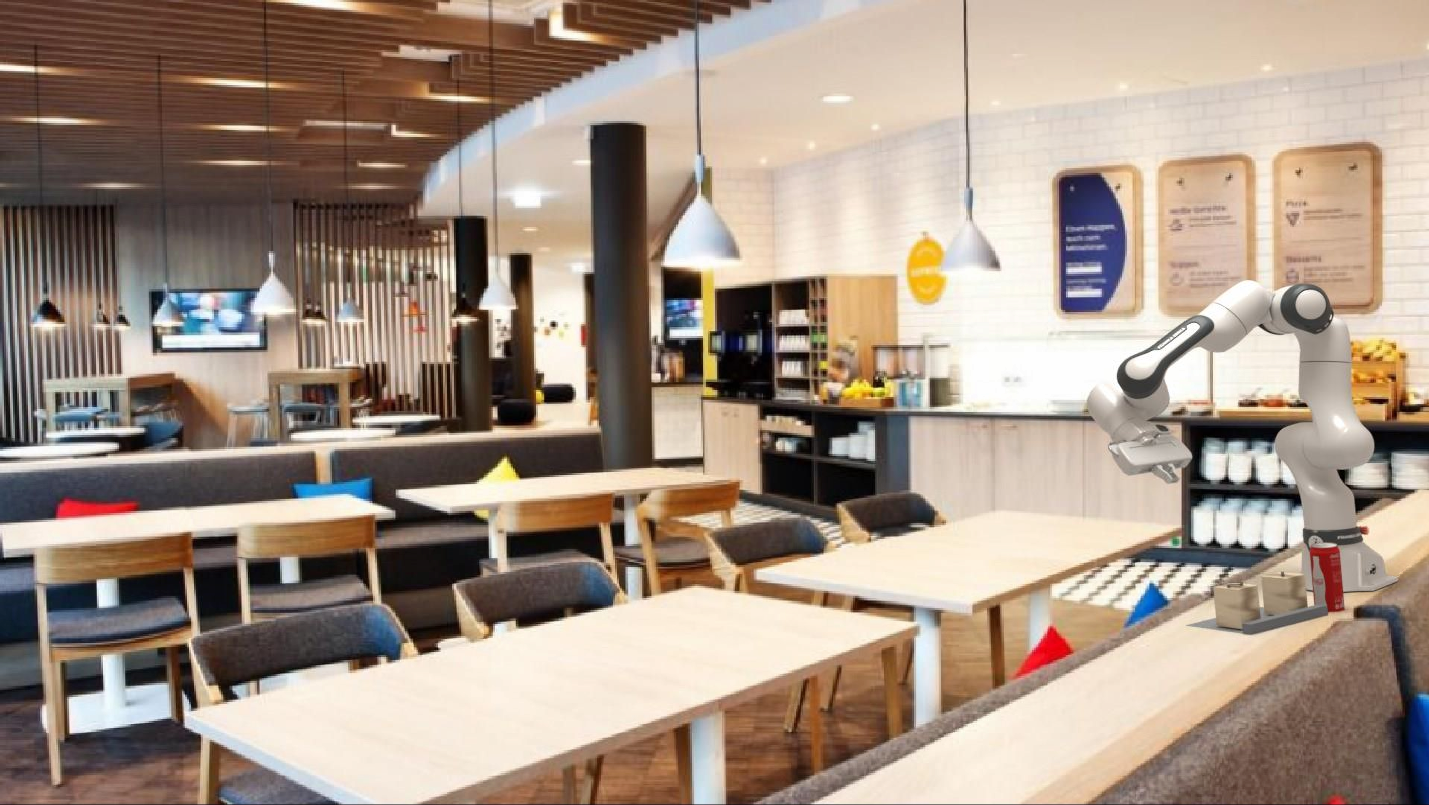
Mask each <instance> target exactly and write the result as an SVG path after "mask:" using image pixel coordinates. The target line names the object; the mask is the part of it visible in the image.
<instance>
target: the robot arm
mask: <svg viewBox="0 0 1429 805" xmlns="http://www.w3.org/2000/svg"><path fill="white" fill-rule="evenodd" d="M1257 327H1259V328H1260V329H1261V330H1262V331H1264V332H1265V333H1268V334H1271V335H1274V336H1282V335H1283V336H1284V335H1292V334H1293V335H1294V336H1295V338H1296V339H1297V342H1298V345H1299V346H1298V347H1299V349H1300V350H1299V358H1298V360H1299V361H1298V362H1299V364H1298V396H1299V398H1300V400H1301V401H1303V402H1304V403H1305V404H1306V405H1307V407H1308V409H1309V411H1310V414H1311V418H1312V421H1309V422H1308V421H1307V422H1305V421H1304V422H1303V421H1302V422H1298V423H1294V424H1291V425H1288V426H1285V427H1283V428H1282V429H1281V430H1279V431H1278V433H1277V435H1276V436H1275V439H1274V450H1275V453H1276V455H1277V457H1278V458H1279V460H1281V461H1282V463H1283V464H1285V465H1286V466H1287V468H1288V470H1289V471H1290V473H1291V474H1292V477H1293V480H1294V481H1295V484H1296V486H1297V489H1298V492H1299V496H1300V501H1301V507H1302V516H1303V528H1302V534H1301V535H1302V540H1303V541H1302V542H1303V543H1304V544H1305V546H1304V548H1303V549H1302V551H1301V574H1305V582H1306V591H1307V590H1308V591H1313V585H1312V574H1311V562H1310V549H1311V545H1312V544H1315V543H1325V542H1326V543H1335V544H1337V546H1338V548H1339V550H1340V559H1341V571H1342V582H1343V593H1344V592H1372V591H1373V592H1374V591H1376V590H1379V589H1382V588H1384V587H1386V586H1388V585H1391V584H1394V583H1397V582H1398V581H1399V579H1398V576H1395V575H1392V574H1391V575H1390V574H1386V573H1387V571H1386V565H1385V560H1384V557H1383V556H1382V555H1381V554H1380V553H1378V552H1377V551H1375V550H1374V549H1373V548H1372V547H1370V546H1369V545H1367V544H1366V542H1364V537H1363V535H1364V536H1368V535H1369V534H1370V529H1369V526H1367V525H1366V526H1361V525H1360V526H1358V525H1357V517H1356V504H1355V496H1354V493H1353V491H1352V490H1351V489H1350V488H1349V487H1348V486H1347V485H1345V483H1344V482H1343V480H1342V479H1341V478H1340V475H1339V473H1338V470H1349V469H1353V468H1356V467H1361V466H1364V465H1365V464H1367V463H1368V462H1369V461H1370V460H1371V458H1372V457H1373V454H1374V451H1375V440H1374V437H1373V435H1372V433H1371V431H1369V429H1367V427H1366V426H1364V425H1363V424H1362V422H1361V420H1360V418H1359V417H1358V414H1357V412H1356V408H1355V406H1354V405H1355V404H1354V401H1353V397H1352V395H1353V393H1352V359H1353V357H1352V343H1351V342H1352V341H1351V336H1350V331H1349V326H1348V325H1347V323H1346V322H1345V321H1344V320H1343V319H1340V318H1339V317H1336V316H1335V313H1334V310H1333V308H1332V307H1331V303H1330V299H1329V296H1328V294H1327V293H1326V292H1325V291H1324V289H1322V288H1321V287H1319V286H1318V285H1315V284H1313V283H1304V282H1302V283H1297V284H1293V285H1287V286H1283V287H1281V288H1279V289H1276V290H1274V291H1269V290H1268V289H1267V288H1266V287H1265V286H1264V285H1262V284H1261V283H1260V282H1257V281H1255V280H1250V279H1247V280H1246V279H1245V280H1242V281H1240V282H1238V283H1236V284H1235V285H1233V286H1232V287H1230V288H1228V289H1227V290H1226V291H1225V292H1223V293H1222V294H1220V295H1219V296H1218V297H1216V298H1215V299H1214V300H1213V301H1212V302H1211V303H1210V304H1209V305H1208V306H1206V307H1204V309H1203V310H1201V311H1200V312H1198V313H1197V314H1196V315H1194V316H1191V317H1189V318H1187V319H1186V320H1184V321H1183V322H1182V323H1180V324H1179V325H1177V326H1176V327H1174V328H1173V329H1171V331H1169V332H1168V333H1167V334H1165V335H1163V336H1162V337H1161V338H1160V339H1158V340H1157V341H1156V342H1155V343H1154V344H1152V345H1151V346H1149V347H1148V348H1145V349H1144V350H1142V351H1139V352H1137V353H1135V354H1133V355H1131V356H1129V357H1127V358H1125V359H1124V360H1123V361H1122V362H1121V364H1120V365H1119V366H1118V369H1117V371H1116V381H1117V382H1113V383H1112V382H1110V383H1109V382H1101V383H1099V384H1097V385H1096V386H1095V387H1093V389H1092V390H1091V391H1090V393H1089V394H1088V396H1087V399H1086V408H1087V411H1088V413H1089V414H1090V416H1091V418H1092V419H1093V420H1094V421H1095V423H1096V424H1097V425H1098V427H1100V429H1101V430H1102V431H1104V432H1105V433H1107V434H1108V435H1109V437H1110V438H1111V441H1110V442H1109V443H1108V445H1107V449H1108V451H1109V452H1110V453H1111V455H1112V459H1113V460H1114V462H1115V464H1116V465H1117V467H1118V468H1119V469H1120V470H1121V472H1122V473H1123V474H1124V475H1126V476H1137V475H1143V474H1144V475H1145V474H1149V473H1152V474H1153V475H1154V476H1155V477H1157V478H1159V479H1161V480H1163V481H1164V483H1166V484H1167V485H1170V484H1171V485H1172V484H1177V483H1178V482H1179V481H1180V480H1181V477H1180V476H1179V474H1177V469H1184V468H1186V467H1187V466H1188V465H1189V464H1190V463H1191V462H1192V459H1193V455H1192V454H1193V453H1192V452H1191V451H1190V449H1189V448H1188V447H1187V446H1186V445H1185V443H1183V441H1181V440H1180V439H1179V437H1177V436H1176V435H1174V434H1172V432H1173V431H1172V429H1171V428H1170V427H1169V426H1168V425H1164V424H1158V423H1154V422H1152V421H1149V420H1151V419H1154V418H1156V417H1157V416H1159V415H1161V414H1162V413H1163V412H1164V411H1166V410H1167V408H1168V406H1169V404H1170V399H1171V396H1170V392H1169V390H1168V386H1167V383H1166V380H1165V378H1166V373H1167V371H1168V370H1169V368H1170V367H1171V366H1173V365H1174V364H1175V363H1177V362H1178V361H1179V360H1180V359H1182V358H1183V357H1184V356H1186V355H1187V354H1189V352H1191V351H1193V350H1194V349H1197V348H1202V349H1204V350H1205V351H1207V352H1211V353H1216V354H1217V353H1225V352H1227V351H1229V350H1231V349H1232V348H1233V347H1235V346H1236V345H1238V344H1239V343H1240V342H1242V341H1243V339H1245V337H1247V335H1249V334H1250V333H1251V332H1252V331H1253V330H1254V328H1257Z"/></svg>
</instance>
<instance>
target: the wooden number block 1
mask: <svg viewBox="0 0 1429 805" xmlns="http://www.w3.org/2000/svg"><path fill="white" fill-rule="evenodd" d="M1260 578H1261V579H1260V580H1261V588H1262V589H1261V590H1262V600H1263V607H1264V613H1265V614H1270V615H1278V614H1282V613H1286V612H1290V611H1294V610H1298V609H1302V608H1306V607H1309V605H1308V595H1307V589H1306V582H1305V574H1302V573H1292V572H1284V571H1279V572H1274V573H1271V574H1270V573H1269V574H1266V575H1261V576H1260Z"/></svg>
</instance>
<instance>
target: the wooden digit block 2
mask: <svg viewBox="0 0 1429 805" xmlns="http://www.w3.org/2000/svg"><path fill="white" fill-rule="evenodd" d="M1259 595H1260V594H1259V585H1258V584H1249V583H1248V584H1247V583H1244V582H1242V581H1238V582H1237V581H1235V582H1234V581H1232V582H1231V581H1230V582H1228V583H1226V584H1221V585H1217V586H1216V585H1215V586H1213V599H1214V608H1215V609H1214V610H1215V618H1216V623H1217V626H1222V627H1230V628H1237V629H1243V628H1242V623H1246V622H1250V621H1254V620H1258V619H1261V616H1260V607H1261V606H1260V596H1259Z"/></svg>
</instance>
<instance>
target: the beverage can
mask: <svg viewBox="0 0 1429 805" xmlns="http://www.w3.org/2000/svg"><path fill="white" fill-rule="evenodd" d="M1310 562H1311V574H1312V585H1313V590H1312V595H1313V606H1314V605H1318V604H1320V605H1327V610H1328V613H1335V612H1336V613H1338V612H1343V611H1345V610H1346V609H1345V608H1346V605H1345V598H1344V597H1345V596H1344V592H1343V582H1342V571H1341V559H1340V550H1339V548H1338V546H1337V544H1335V543H1326V542H1325V543H1315V544H1312V545H1311V549H1310Z"/></svg>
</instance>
